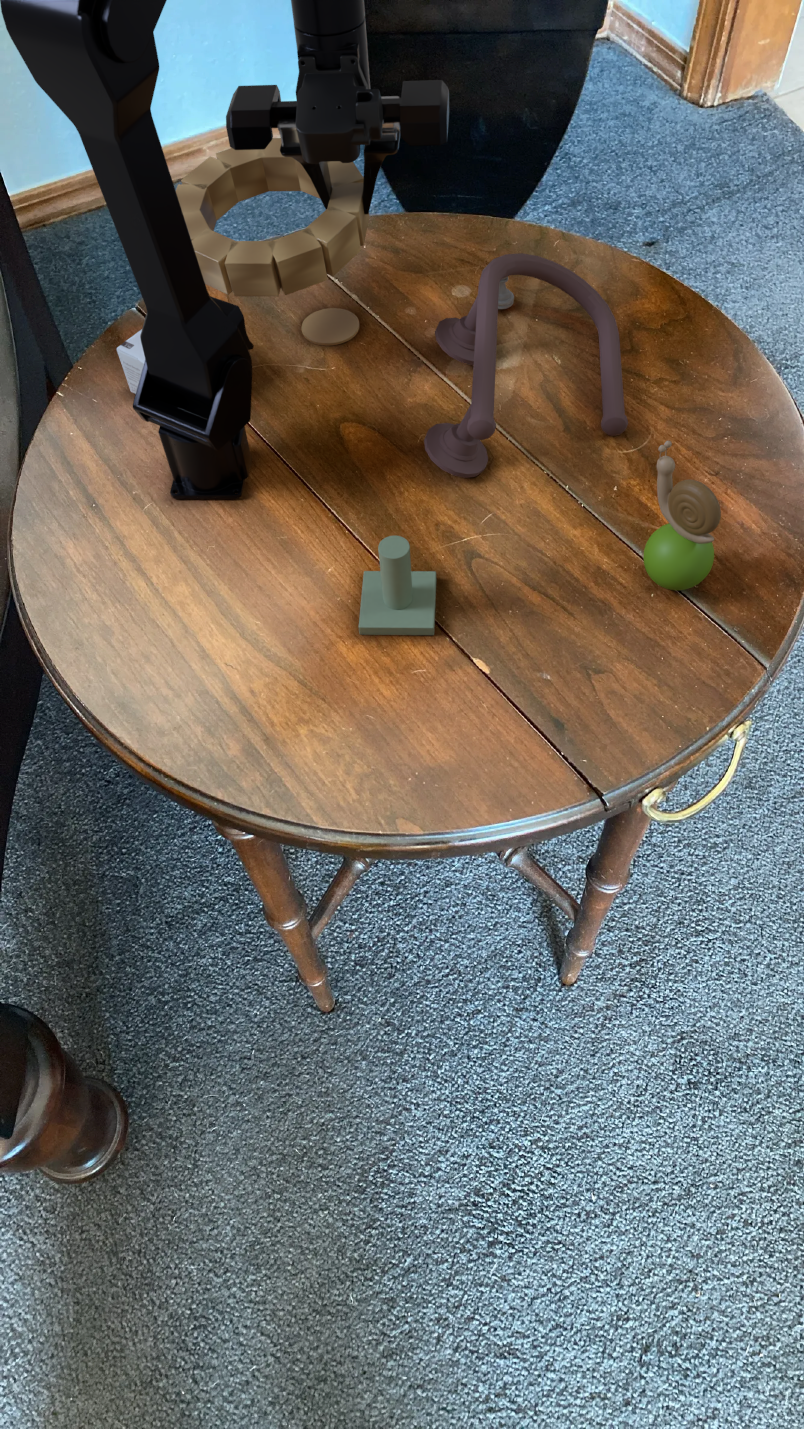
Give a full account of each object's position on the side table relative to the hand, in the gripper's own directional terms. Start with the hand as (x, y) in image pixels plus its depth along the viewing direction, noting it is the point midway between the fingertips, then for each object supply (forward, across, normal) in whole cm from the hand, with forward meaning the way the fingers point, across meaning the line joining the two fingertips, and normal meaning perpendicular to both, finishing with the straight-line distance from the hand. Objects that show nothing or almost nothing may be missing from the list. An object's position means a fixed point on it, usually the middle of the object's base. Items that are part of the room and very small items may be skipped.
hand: (348, 212), depth 90 cm
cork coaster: (+12, -3, 0) cm, 13 cm away
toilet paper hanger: (+12, +17, -10) cm, 23 cm away
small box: (+12, -17, -9) cm, 23 cm away
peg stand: (+12, +6, -37) cm, 40 cm away
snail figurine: (+12, +28, -34) cm, 46 cm away
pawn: (+12, +29, -7) cm, 32 cm away
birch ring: (+2, -7, 0) cm, 8 cm away
